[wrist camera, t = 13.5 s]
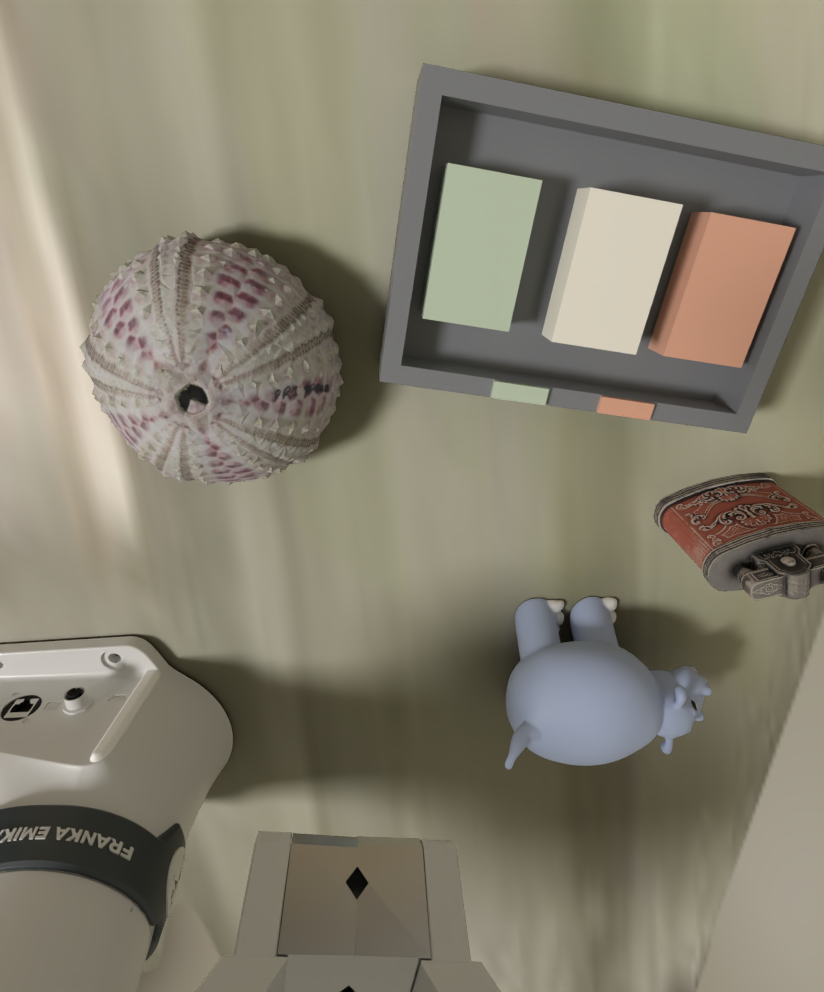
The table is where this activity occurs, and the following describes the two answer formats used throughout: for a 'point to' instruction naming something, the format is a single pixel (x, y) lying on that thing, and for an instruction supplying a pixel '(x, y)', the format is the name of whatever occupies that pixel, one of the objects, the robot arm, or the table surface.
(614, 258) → the cream key
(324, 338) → the sea urchin shell
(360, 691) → the table surface
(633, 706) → the hippopotamus toy
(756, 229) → the terracotta key
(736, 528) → the lighter
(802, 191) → the grey tray
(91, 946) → the robot arm
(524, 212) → the sage key
